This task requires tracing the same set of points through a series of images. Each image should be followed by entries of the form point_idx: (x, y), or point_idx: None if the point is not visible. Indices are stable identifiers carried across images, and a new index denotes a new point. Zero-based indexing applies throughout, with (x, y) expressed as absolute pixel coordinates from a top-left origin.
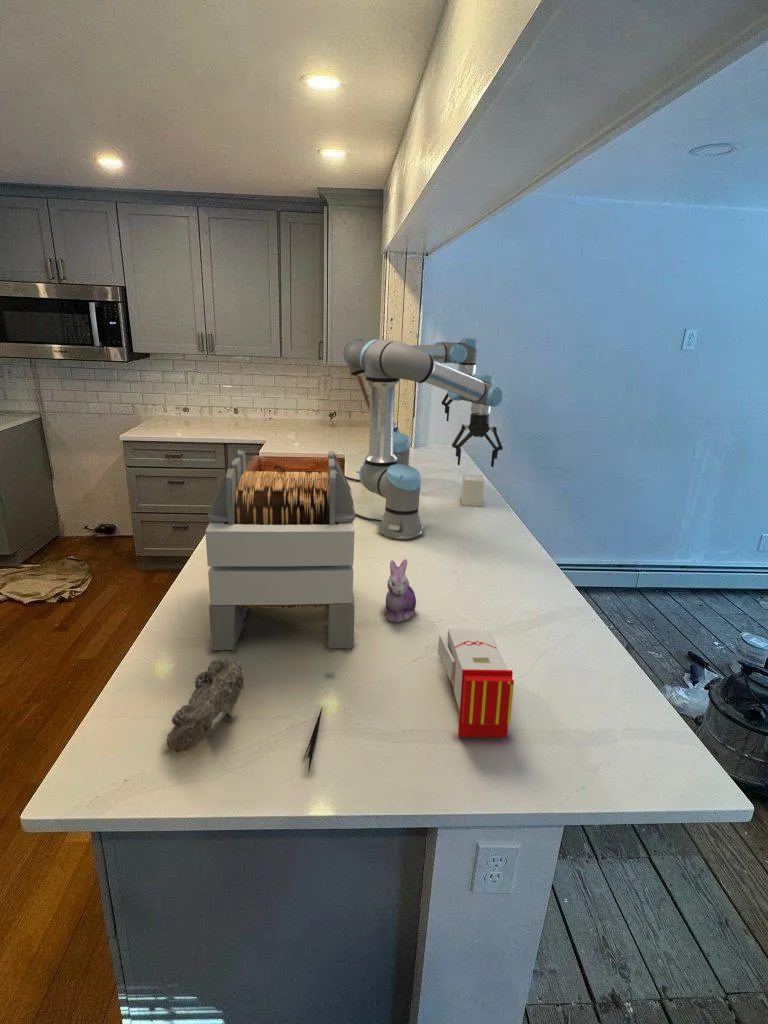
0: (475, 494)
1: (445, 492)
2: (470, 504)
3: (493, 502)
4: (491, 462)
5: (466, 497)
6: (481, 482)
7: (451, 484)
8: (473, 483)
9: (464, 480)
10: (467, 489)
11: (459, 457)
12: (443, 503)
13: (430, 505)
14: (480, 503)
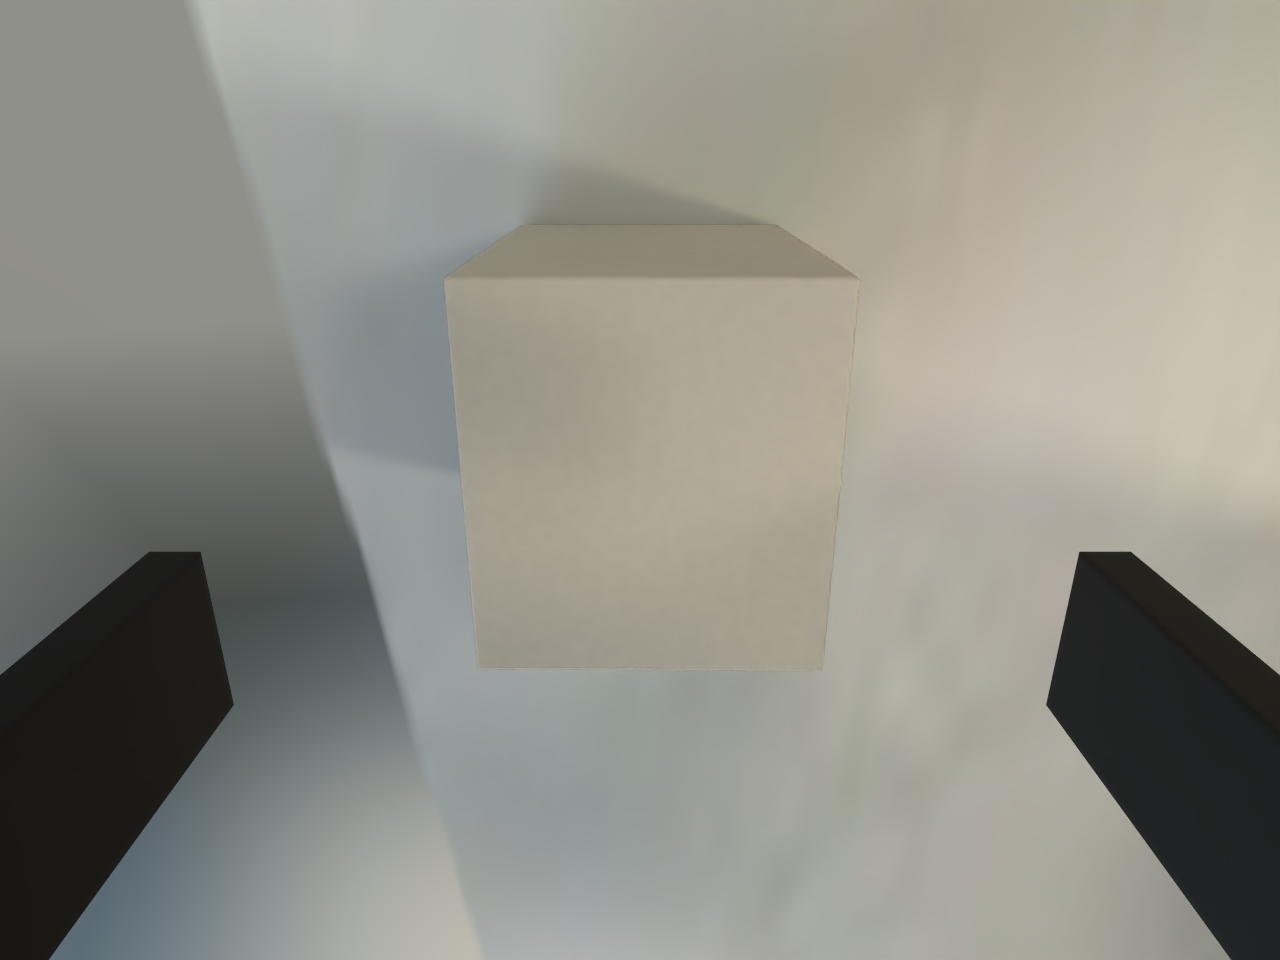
0: (613, 242)
1: (922, 660)
2: (671, 226)
3: (368, 414)
4: (174, 714)
5: (744, 235)
6: (506, 270)
7: (813, 907)
8: (666, 267)
9: (853, 310)
10: (757, 249)
11: (1256, 688)
12: (1024, 246)
13: (1229, 119)
14: (536, 226)
